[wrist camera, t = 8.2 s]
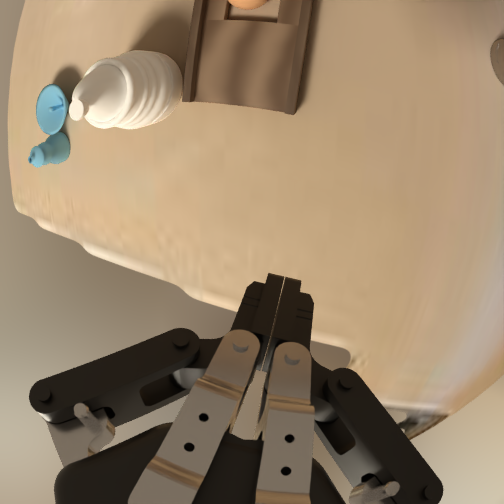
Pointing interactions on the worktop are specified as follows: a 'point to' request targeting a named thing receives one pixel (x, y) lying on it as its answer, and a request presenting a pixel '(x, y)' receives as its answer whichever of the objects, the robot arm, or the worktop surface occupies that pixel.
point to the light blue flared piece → (51, 127)
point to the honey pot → (128, 90)
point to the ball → (247, 3)
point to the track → (246, 56)
